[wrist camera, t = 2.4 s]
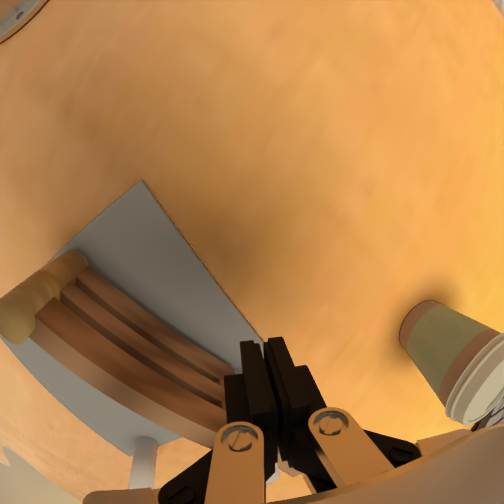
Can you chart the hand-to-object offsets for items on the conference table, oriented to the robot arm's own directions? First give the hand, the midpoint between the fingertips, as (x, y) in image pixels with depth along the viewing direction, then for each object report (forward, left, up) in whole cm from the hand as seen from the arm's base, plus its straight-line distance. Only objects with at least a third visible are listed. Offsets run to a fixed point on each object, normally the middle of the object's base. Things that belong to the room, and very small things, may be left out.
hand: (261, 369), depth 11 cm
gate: (-1, -7, -10) cm, 13 cm away
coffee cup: (+16, +12, -11) cm, 23 cm away
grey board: (+3, -13, -11) cm, 17 cm away
